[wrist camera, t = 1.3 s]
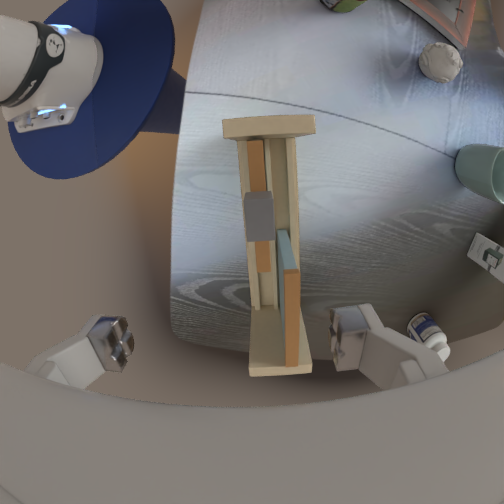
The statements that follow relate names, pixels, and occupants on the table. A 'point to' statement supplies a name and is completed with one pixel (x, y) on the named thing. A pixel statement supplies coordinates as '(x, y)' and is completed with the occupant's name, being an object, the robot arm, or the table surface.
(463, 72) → the table surface
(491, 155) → the cup
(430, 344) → the pill bottle
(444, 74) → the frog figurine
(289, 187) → the window frame
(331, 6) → the beverage can
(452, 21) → the picture frame
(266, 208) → the window pane
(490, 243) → the ink box
